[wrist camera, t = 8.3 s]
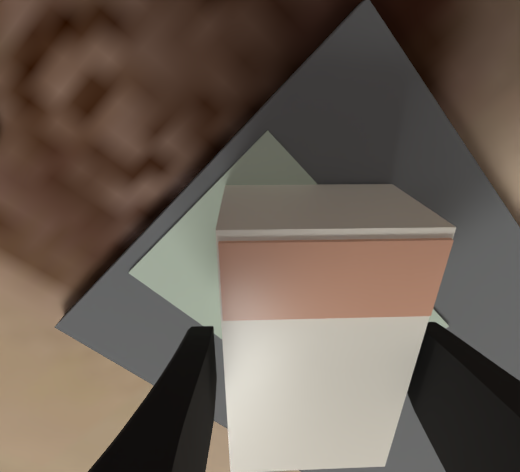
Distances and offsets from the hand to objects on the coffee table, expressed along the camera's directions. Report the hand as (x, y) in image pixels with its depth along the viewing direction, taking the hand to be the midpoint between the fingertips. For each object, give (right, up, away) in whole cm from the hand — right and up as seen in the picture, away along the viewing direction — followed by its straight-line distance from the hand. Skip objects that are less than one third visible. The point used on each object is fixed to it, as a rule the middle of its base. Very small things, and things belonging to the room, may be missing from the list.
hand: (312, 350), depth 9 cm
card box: (0, +1, +2) cm, 2 cm away
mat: (+4, -2, +5) cm, 6 cm away
